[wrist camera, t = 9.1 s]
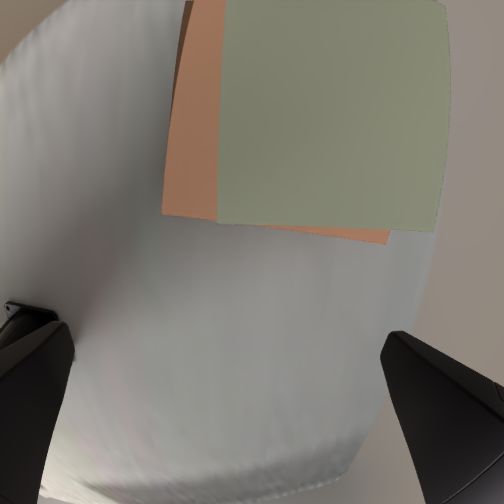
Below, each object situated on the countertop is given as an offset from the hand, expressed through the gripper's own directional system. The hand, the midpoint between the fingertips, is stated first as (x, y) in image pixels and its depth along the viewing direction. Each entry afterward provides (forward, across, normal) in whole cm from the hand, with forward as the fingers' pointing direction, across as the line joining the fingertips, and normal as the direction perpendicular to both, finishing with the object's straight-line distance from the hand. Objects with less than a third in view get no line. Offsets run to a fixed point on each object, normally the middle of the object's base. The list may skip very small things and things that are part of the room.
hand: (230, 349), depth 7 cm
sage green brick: (+7, -3, -7) cm, 10 cm away
